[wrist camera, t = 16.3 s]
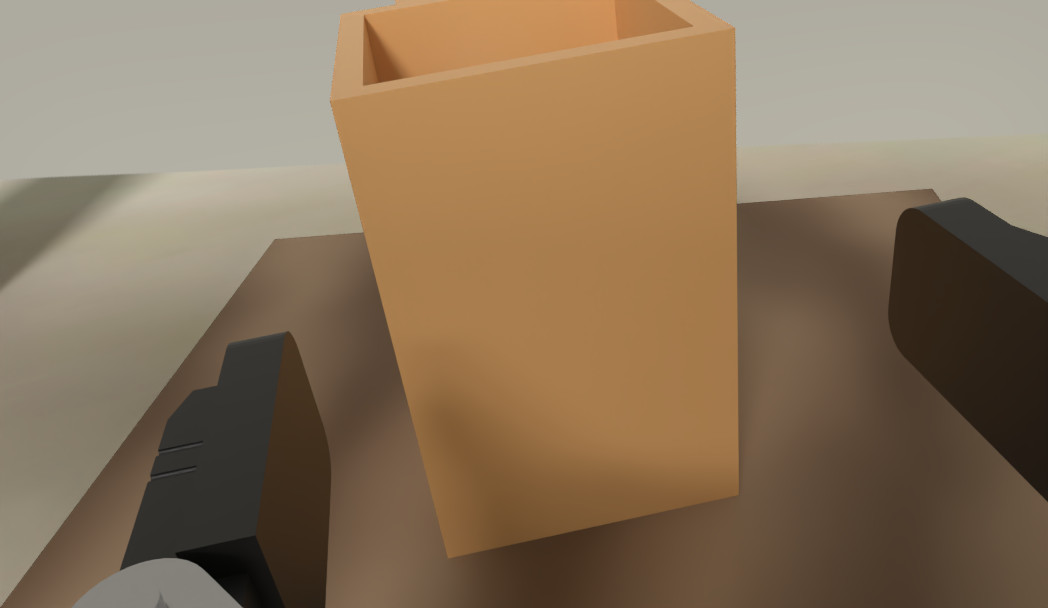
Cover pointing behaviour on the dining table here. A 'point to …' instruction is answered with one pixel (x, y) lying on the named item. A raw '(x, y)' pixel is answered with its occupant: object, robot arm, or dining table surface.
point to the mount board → (657, 539)
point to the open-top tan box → (552, 251)
